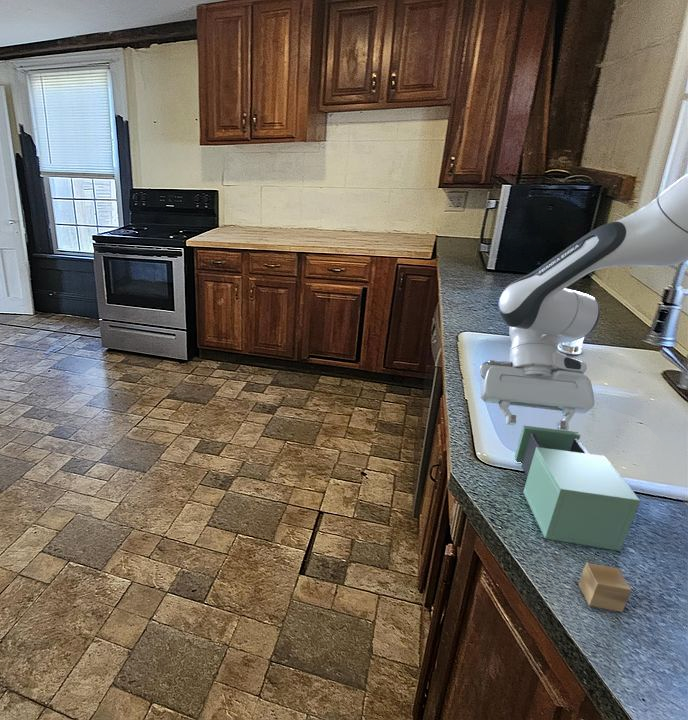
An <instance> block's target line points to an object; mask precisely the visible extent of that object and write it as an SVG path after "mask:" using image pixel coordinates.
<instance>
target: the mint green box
mask: <svg viewBox="0 0 688 720" xmlns="http://www.w3.org/2000/svg"><path fill="white" fill-rule="evenodd" d="M522 491H523V492H522V494H523V495H524V497H525V499H526V502H527V503H528V506H529V508H530V510H531V512H532V514H533V516H534V518H535V520H536V522H537V525H538V527H539V529H540V531H541V533H542V535H543V537H544V539H546V540H552V541H557V542H562V543H563V542H564V543H570V544H576V545H582V546H588V547H592V548H593V547H594V548H600V549H605V550H611V551H619V552H621V551H622V548H623V546H624V544H625V541H626V538H627V536H628V533H629V531H630V529H631V525H632V523H633V520H634V518H635V516H636V513H637V512H638V511H637V510H638V508H639V505H640V503H641V499H640V498H639V497H638V495H637V494H636V493H635V492H634V491H633V489H632V488H631V486H630V485H629V484H628V482H626V481H625V479H624V478H623V477H622V476H621V474H620V473H619V472H618V470H617V468H615V466H614V465H613V464H612V463H611V462H610V460H609V459H608V458H607V456H605V455H600V454H593V453H589V454H586V453H578V452H570V451H563V450H555V449H547V448H540V447H536V449H535V453H534V456H533V460H532V463H531V467H530V470H529V474H528V477H527V476H526V481H525V485H524V487H523V490H522Z"/></svg>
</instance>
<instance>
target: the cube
mask: <svg viewBox="0 0 688 720" xmlns="http://www.w3.org/2000/svg"><path fill="white" fill-rule="evenodd" d="M578 586H579V589H580V590H581V593H582V594H583V597H584V598H585V600H586V603H587V605H588V606H589V607H594V608H599V609H603V610H607V611H614V612H619V613H623V612H624V609H625V607H626V604H627V602H628V599H629V598H630V595H631V593H632V588H631V587H630V585H629V582H628V581H627V580H626V578H625V577H624V575H623V573H622V572H621V570H620V568H618V567H613V566H607V565H601V564H595V563H589V562H586V563H585V565H584V567H583V570H582V573H581V576H580V579H579V582H578Z"/></svg>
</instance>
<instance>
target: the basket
mask: <svg viewBox="0 0 688 720" xmlns="http://www.w3.org/2000/svg"><path fill="white" fill-rule="evenodd" d="M580 438H581V434H580V432H579V431H572V430H571V431H570V430H568V431H564V430H557V428H556V429H555V428H548V427H538V426H531V425H522V428H521V432H520V436H519V439H518V442H517V443H518V444H517V446H516V450H515V453H514V457H515V460H516V461H517V462H521V463H522V464H521V463H517V464H519V465H521V468H522V470H523V472H524V474H525V477H526V478H527V477H528V474H529V470H530V467H531V463H532V460H533V456H534V453H535V449H536V447H540V448H547V449H555V450H563V451H570V452H578V453H586V454H590V453H589V451H588V450H587V448H586V447H585V446H584V444H583V443H582V441H580Z"/></svg>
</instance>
